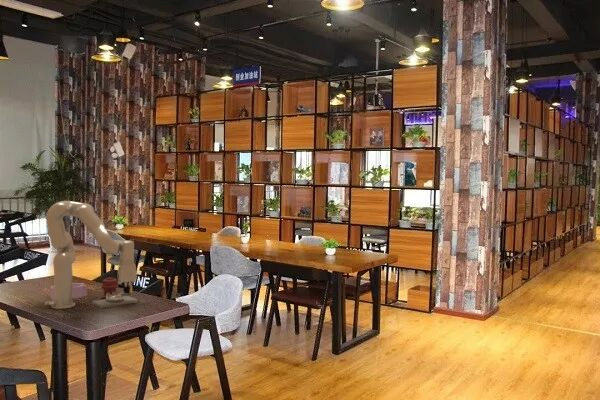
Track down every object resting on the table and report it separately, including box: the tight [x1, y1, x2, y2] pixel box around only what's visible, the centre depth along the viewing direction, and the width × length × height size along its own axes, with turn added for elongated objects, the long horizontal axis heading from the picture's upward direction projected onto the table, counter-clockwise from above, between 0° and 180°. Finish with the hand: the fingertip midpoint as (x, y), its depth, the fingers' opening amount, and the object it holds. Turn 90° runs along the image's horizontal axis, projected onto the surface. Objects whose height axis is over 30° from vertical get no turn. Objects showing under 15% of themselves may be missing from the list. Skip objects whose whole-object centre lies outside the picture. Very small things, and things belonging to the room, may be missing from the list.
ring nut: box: [105, 284, 133, 302], centre depth 315 cm, size 11×14×9 cm
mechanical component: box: [100, 277, 120, 298], centre depth 327 cm, size 12×10×10 cm
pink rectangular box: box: [49, 282, 88, 300], centre depth 329 cm, size 20×12×7 cm, turn 124°
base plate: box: [91, 296, 138, 309], centre depth 315 cm, size 22×13×2 cm, turn 133°
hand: (126, 292), depth 311 cm, fingers closed
